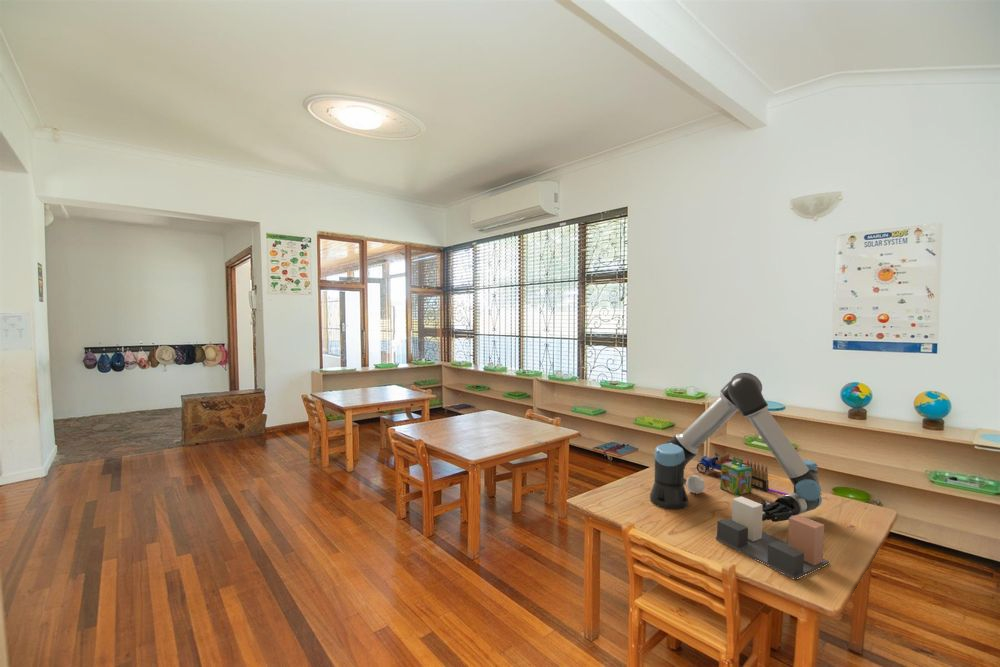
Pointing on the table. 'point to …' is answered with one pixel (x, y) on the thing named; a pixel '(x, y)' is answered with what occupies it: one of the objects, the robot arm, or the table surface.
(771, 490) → the yellow handled tool
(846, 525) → the table surface
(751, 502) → the off-white key
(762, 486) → the ammunition clip
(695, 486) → the geometric ball
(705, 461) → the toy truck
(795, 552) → the key console
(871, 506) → the table surface
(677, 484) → the robot arm
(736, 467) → the chalk box
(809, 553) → the terracotta key
